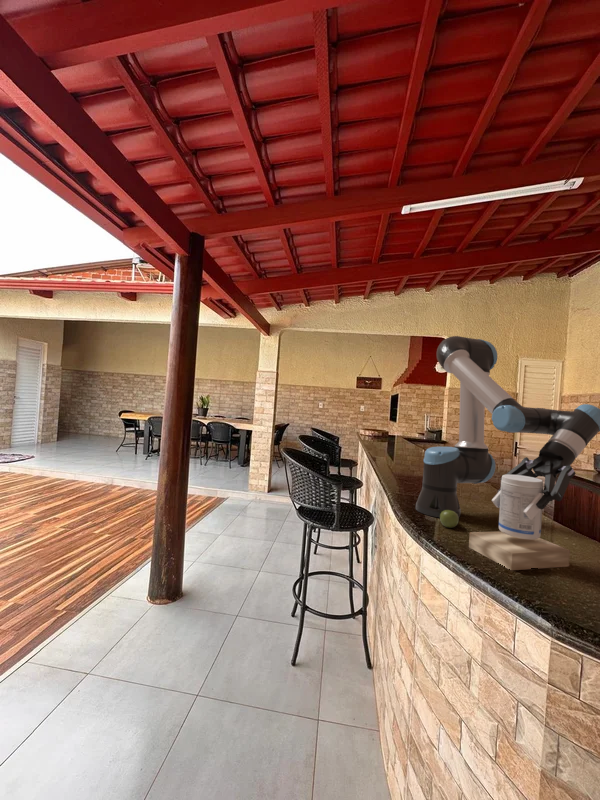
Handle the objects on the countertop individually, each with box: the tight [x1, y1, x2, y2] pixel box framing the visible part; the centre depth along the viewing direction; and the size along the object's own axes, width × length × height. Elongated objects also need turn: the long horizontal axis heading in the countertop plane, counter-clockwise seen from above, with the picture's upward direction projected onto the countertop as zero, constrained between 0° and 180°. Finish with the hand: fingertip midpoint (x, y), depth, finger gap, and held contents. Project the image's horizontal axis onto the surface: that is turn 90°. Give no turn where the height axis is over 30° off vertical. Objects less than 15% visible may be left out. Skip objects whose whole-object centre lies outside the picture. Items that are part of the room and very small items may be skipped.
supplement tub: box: [498, 473, 544, 540], centre depth 98 cm, size 10×10×15 cm
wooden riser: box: [468, 530, 571, 571], centre depth 97 cm, size 14×18×4 cm
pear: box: [439, 510, 460, 529], centre depth 121 cm, size 6×5×10 cm
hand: (510, 509), depth 97 cm, fingers closed on supplement tub, 9 cm apart
